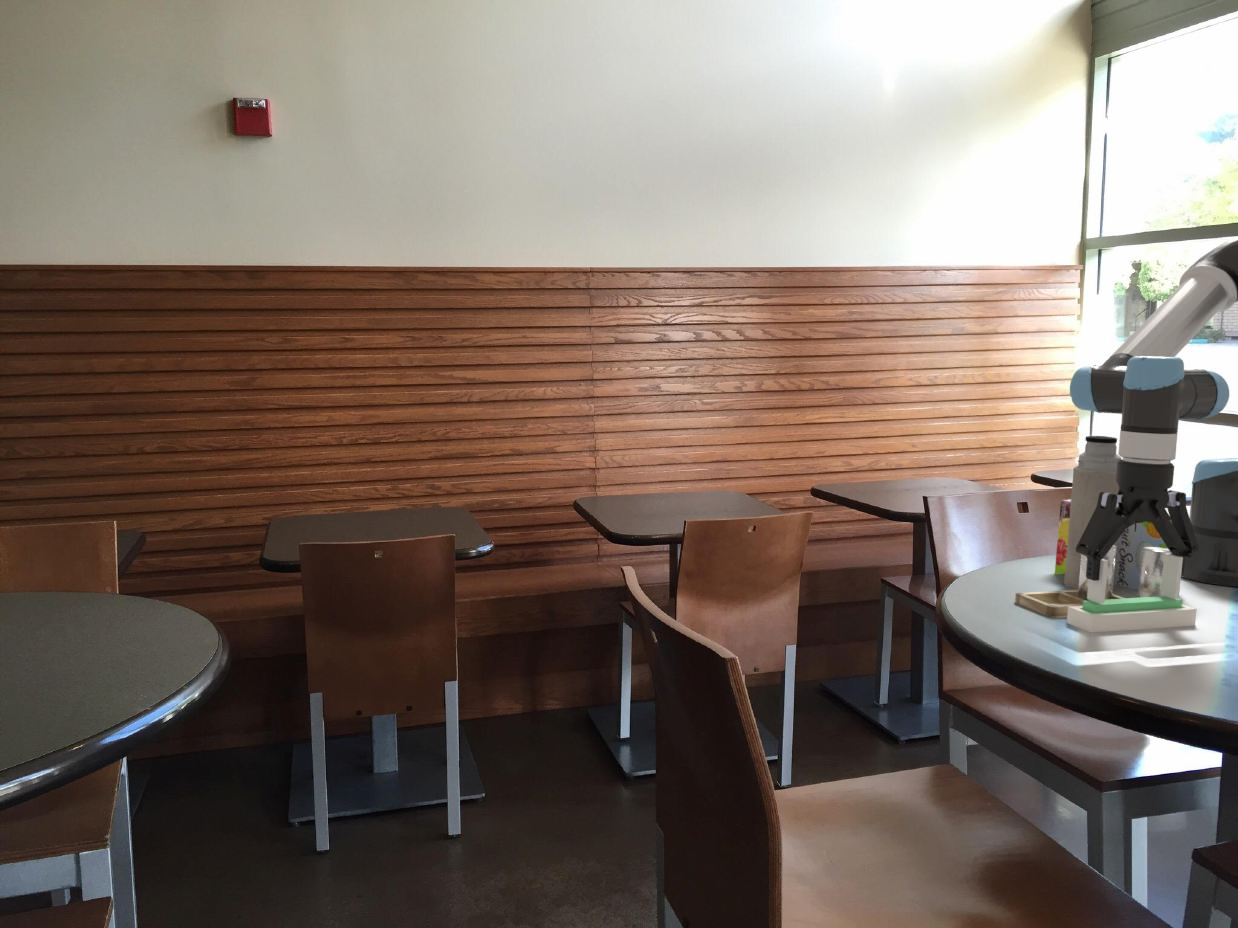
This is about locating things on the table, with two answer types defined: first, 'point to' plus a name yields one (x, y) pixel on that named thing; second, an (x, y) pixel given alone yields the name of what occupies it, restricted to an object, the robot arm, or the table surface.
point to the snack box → (1127, 547)
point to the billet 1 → (1109, 581)
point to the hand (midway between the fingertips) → (1133, 599)
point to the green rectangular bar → (1132, 604)
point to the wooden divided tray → (1052, 601)
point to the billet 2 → (1151, 571)
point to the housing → (1130, 619)
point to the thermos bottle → (1089, 496)
